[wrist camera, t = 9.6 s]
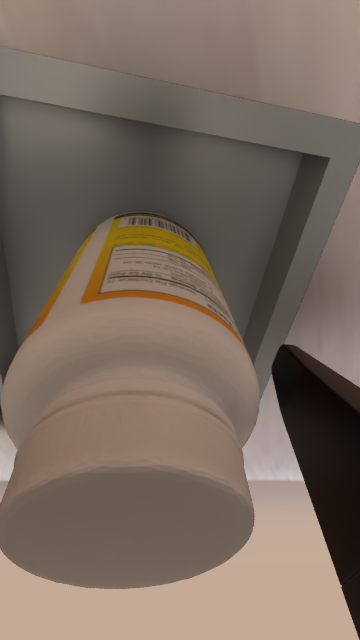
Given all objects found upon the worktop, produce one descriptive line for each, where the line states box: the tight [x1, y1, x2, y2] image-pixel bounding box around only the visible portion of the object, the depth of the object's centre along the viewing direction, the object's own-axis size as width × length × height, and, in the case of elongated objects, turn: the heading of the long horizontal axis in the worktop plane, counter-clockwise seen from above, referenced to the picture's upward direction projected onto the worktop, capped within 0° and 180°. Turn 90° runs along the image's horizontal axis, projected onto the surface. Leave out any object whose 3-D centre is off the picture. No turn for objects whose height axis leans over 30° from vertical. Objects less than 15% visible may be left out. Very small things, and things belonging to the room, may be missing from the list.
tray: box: [0, 46, 360, 405], centre depth 13 cm, size 13×13×2 cm
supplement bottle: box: [0, 211, 260, 589], centre depth 9 cm, size 6×6×10 cm
